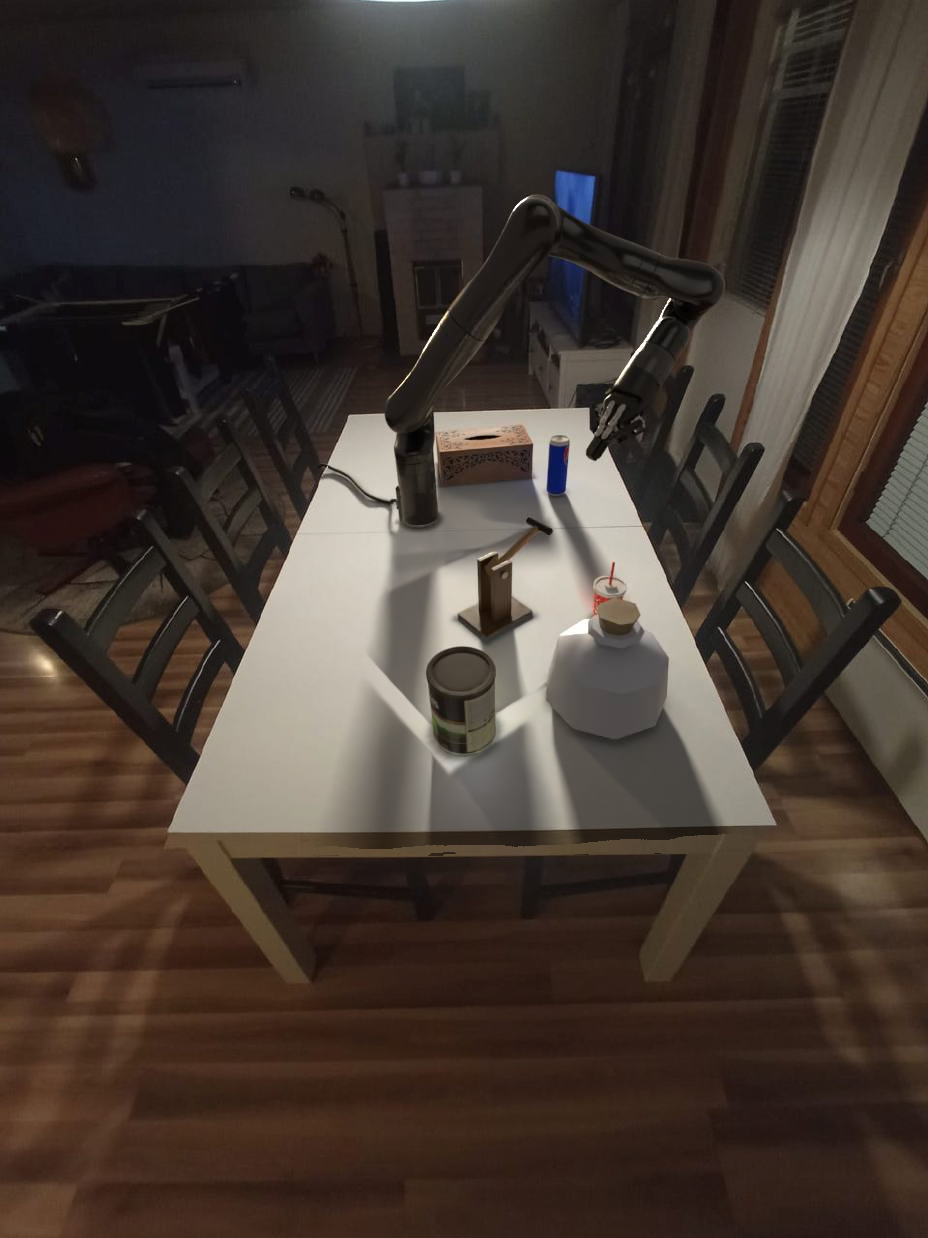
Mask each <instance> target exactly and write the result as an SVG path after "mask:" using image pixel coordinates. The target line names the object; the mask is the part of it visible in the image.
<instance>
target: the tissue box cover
mask: <svg viewBox="0 0 928 1238" xmlns="http://www.w3.org/2000/svg"><path fill="white" fill-rule="evenodd" d="M435 445H436V447H435V448H436V458H437V460H436V461H437V468H438V473H439V479H440V484H441V486H442V487H445V486H447V487H448V486H455V485H456V486H458V485H467V484H478V483H489V482H490V483H491V482H500V481H509V480H510V481H511V480H522V479H531V478H533V460H534V459H533V458H534V442H533V441H532V438H531V436H530V435H529V433H528V432H527V429H526V428H525V425H524V423H522V424H510V425H509V424H508V425H500V426H499V425H498V426H487V427H486V426H485V427H476V428H474V427H473V428H466V429H451V430H442V431H439V430H438V431H435Z"/></svg>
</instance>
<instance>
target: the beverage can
mask: <svg viewBox="0 0 928 1238" xmlns="http://www.w3.org/2000/svg"><path fill="white" fill-rule="evenodd" d="M549 439H550V440H549V442H548V456H547V461H548V462H547V473H546V475H547V476H546V492H547V494H549V496H550V495H551V496H553V497H559V496H560V497H561V496H562V495H564V494H565V493H566V490H567V482H568V481H567V479H568V467H569V456H570V445H571V444H570V443H571V442H570V437H569V436H567V435H563V434H556V435H553V436H551V437H550V438H549Z"/></svg>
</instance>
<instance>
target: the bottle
mask: <svg viewBox="0 0 928 1238" xmlns="http://www.w3.org/2000/svg"><path fill="white" fill-rule="evenodd" d="M597 611H598V614H597V615H595V616H594V617H593V616H592V617H591V618H587V619H581V620H580V621H579V622H578V623H575V624H574V625H573V626H571V627H569V628H568V629H567V630H565V631H564V632H562V633H560V634H559V635H558V637H557V640H556V644H555V647H554V651H553V654H552V658H551V660H550V663H549V667H548V671H547V682H546V683H547V684H546V693H545V701H546V702H547V704H549V705H550V707H552V708H553V710H555V711H556V713H557V714H558V715H559V716H560V717H561V718H562V719H563V720H564V721H565V722H566V724H568V726H569V727H570V728H571V729H573V730H575V731H578V732H582V733H585V734H590V735H595V736H598V737H602V738H607V739H610V740H619V739H622V738H625V737H628V736H631V735H633V734H636V733H640V732H642V731H645V730H648V729H651V728H654V727H656V726H657V723H658V721H659V718H660V715H661V713H662V710H663V708H664V706H665V703H666V700H667V698H668V686H669V685H668V683H669V663H670V657H669V656H668V654H667V652H666V651H665V650H664V648H663V646H662V645H661V644H660V642H659V641H658V639H657V638H656V636H655V635H654V633H653V632H652V631H649V630H647V629H644V628H643V626H642V625H641V623H640V621H639V619H640V617H641V613H640V610H639V608H638V606H637V604H636V603H635V602H632V601H629V600H626V599H623V600H622V599H619V598H613V599H610V600H608V601H606V602H604V603H601V604H599V605H597Z"/></svg>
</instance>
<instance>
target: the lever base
mask: <svg viewBox="0 0 928 1238" xmlns="http://www.w3.org/2000/svg"><path fill="white" fill-rule="evenodd" d="M494 557H495V558H496V559H499V552H498V551H497V550H494V551H492V552H489V553H487V554H485V555H482V556H481V557H479V558H477V559H476V560H477V561H476V564H477V566H476V567H477V568H476V569H477V600H478V603H476V604H474V605H471V606H469V607H467V608H466V609H463V610H462V611H460V612H458V613H457V616H458V617H459V618H461V619H462V620H463V621H464V622H465V623H467V625H469V626H470V627H471V628H473V629H474V630H475V631H476V632H477V633H478V634H480V635H481V636H482V637H483V638H485V639H487V638H489V637H490V636H492V635H494V634H496V633H498V632H499V631H502V630H503V629H505V628H507V627H509V626H511V625H512V624H514V623H516V622H518V621H520V620H522V619H524V618H525V617H527V616H529V615H531V614H533V610H532V609H530V608H529V607H528V606H526V605H525V604H523V603H522V602H521V601H519V600H518V599H517V598H515V597H514V596H513V561H512V560H511V559H510V560H508V561H505V562H503V563H501V564H499V565H497V566H495V567H493V568H491V576H489V575H488V574H487V572H486V570H485V568H484V566H485V565H486V564H488V563H489V562H490V561H491V560H492V559H493V558H494Z"/></svg>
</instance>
